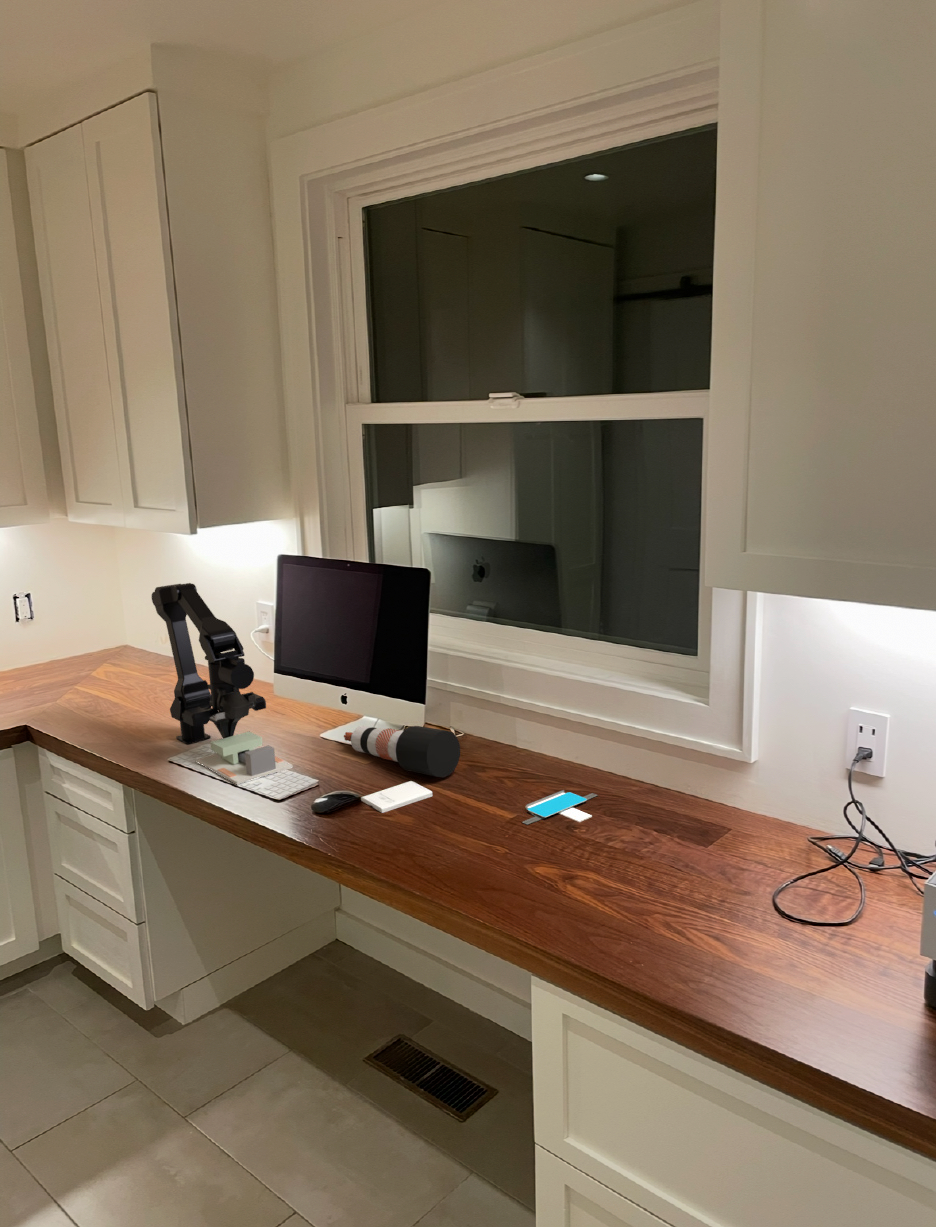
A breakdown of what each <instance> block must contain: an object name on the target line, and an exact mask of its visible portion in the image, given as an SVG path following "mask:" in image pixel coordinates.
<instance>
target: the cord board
mask: <svg viewBox="0 0 936 1227" xmlns="http://www.w3.org/2000/svg"><path fill="white" fill-rule="evenodd" d="M275 754H276V753H275V748H274V747H273V746H271V745H264V746H260V747H255V748H254V750H251V751H247V752H245V753H243V752H238V763H236V764H232V763H230V762H229V761H227V760H225V759H223V758H221V755H220V754H218V753H216V752H214V753H213V754H212V753H211V754H208V755H204V756H202V757H198V758H195V762H196V761H197V762H199V763H200V764H203V765H204V766H206V767H208V768H210V769H212V770H213V771H215V772H217V773H218V774H220V775H221V776H220V775H219V776H220V777H222V776H223V777H225V778H226V780H227V779H228V780H227V781H229V780H230V781H232V782H233V783H232V782H231V783H232V784H234V783H235V784H234V785H236V784H240V783H242V782H244V781H247V780H251V779H254V778H257V777H260V776H265V775H268V774H271V773H274V772H278V773H281V772H284V771H287V770H290V769H293V763H289V762H288V761H286V760H284V759H282V758H280V757H277V756H276V755H275ZM197 762H196V763H197ZM200 764H199V765H200ZM204 766H203V767H204ZM206 767H205V768H206ZM213 771H212V772H213ZM280 771H281V772H280ZM218 774H217V775H218ZM223 777H222V778H223ZM265 777H266V776H265ZM225 778H224V779H225ZM230 781H229V782H230ZM240 785H241V784H240Z"/></svg>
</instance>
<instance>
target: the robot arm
mask: <svg viewBox="0 0 936 1227" xmlns="http://www.w3.org/2000/svg"><path fill="white" fill-rule="evenodd" d="M151 602H152V604H153V606H154V608H155V611H156V613H157V615H158V616H159V617H160V618H161V619H162V620H163V621H164V622H165V624H166V630H167V634H168V639H169V642H170V646H171V652H172V657H173V662H174V666H175V670H176V674H177V675H176V676H177V681H176V683H175V687H174V690H173V694H174V699H173V702H172V704H171V705H170V708H169V711H170V717H171V718H172V719H175V720H176V721H178V722H179V726H180V735H177V736H176V738H175V739H176V740H179V741H180V742H182V743H184V744H186V745H188V744H189V745H190V744H192V743H197V742H201V741H204V740H209V739H211V735H210V734H207V733H205V725H208V723H209V722H212V723H213V725H214V726H215V727H216V729H217V730H218V732H219V733H220V735H221V737H222V739H223V738H227V737H231V736H234V734H235V731H236V727H237V725H238V723H239V721H240V720H241V719H243V718H244V717H247V716H249V715H250V709H252V710H254V711H255V712H258V711H261V710H265V709H267V701H266V699H265V697H263V696H262V695H260V694H257V693H254V692H253V691H250V692H246V693H241V691H240V690H245V689H247V688H249V686H251V684H253V681H254V679H255V678H254V677H255V672H254V670H253V668H252V667H251V666H250V665H248V664H246V662H245V658H242V657H244V656H245V652H244V647H243V644H242V643H241V641H240V639H239V638H238V636H237V633H236V631H235V630H234V628H232V626H230V625H229V624H228V623H227V622H226V621H224V620H222V619H219V618H217V617H216V616H215V614H214V613H213V612H212V610H211V609H210V608H209V606H208V605H207V604H206V602H205V601H204V599H203V598H202V596H201V595H200V594H199V592H198V588H197V586H196V585H195V583H191V582H187V583H175V584H170V585H162V586H157V587H155V589H154V591H153V592H152V593H151ZM187 616H188V618H189V619H190V621H191V622H192V624H193V625H194V627H195V629H197V630H198V631H197V632H198V633H199V636H198V642H199V644H200V647H201V650H202V651H203V652H204V655H205V656H204V660H206V661H207V666H208V677H209V682H208V681H207V680H205V679H202V678H201V677H200V675H199V674H198V670H197V665H196V664H197V663H196V660H195V657H194V652H193V647H192V641H191V636H190V631H189V627H188V623H187Z"/></svg>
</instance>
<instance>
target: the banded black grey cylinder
mask: <svg viewBox="0 0 936 1227" xmlns="http://www.w3.org/2000/svg"><path fill="white" fill-rule="evenodd" d="M343 738H344V741H348V742H350V745H351V747H352V748H353V750H354V751H356V752H360V753H364V754H368V755H372V756H374V757H379V758H381V759H383V760H388V761H393V762H397V763H398V765H399V766H400V767H401V768H402V769H404V770H405V771H408V772H413V773H417V774H423V775H427V776H432V777H435V778H437V777H438V778H446V777H448V776H450V775H451V774H452V773H453V772H454V771H455V769H456V768H457V766H458V765H459V762H460V759H461V758H460V757H461V745H460V744H461V743H460V741H459V739H458V737H457V736H456V735H455V733H453V732H451V731H449V730H446V729H439V728H435V727H434V728H432V727H426V726H419V725H411V726H408V727H407V728H405V729H402V730H401V729H395V728H393V729H392V728H382V727H374V726H373V727H371V726H370V727H369V726H364V725H361V726H358V727H356V728H355V729H354V730H353V731H352V732H350V731H349V732H345V733H344V735H343Z"/></svg>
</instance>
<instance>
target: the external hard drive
mask: <svg viewBox="0 0 936 1227" xmlns="http://www.w3.org/2000/svg"><path fill="white" fill-rule="evenodd" d="M431 797H433V791H432V790H430V789H428V788H426V787H425V786H422V785H420V784H418V783H417V782H415V781H412V780H410V781H406V782H403V783H401V784H398V785H394V786H391V787H388V788H385V789H383V790H379V791H376V792H374V793H371V794H370V793H369V794H367V795H364V796H361V797H360V800H361V801H360V802H363V803H364V804H366V805H368V806H370V807H372V808H373V809H375V810H377V811H378V812H380V813H383V814H384V813H387V812H390V811H392V810H395V809H398V808H402V807H404V806H408V805H410V804H413V803H417V802H419V801H422V800H425V799H428V798H431Z"/></svg>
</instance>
